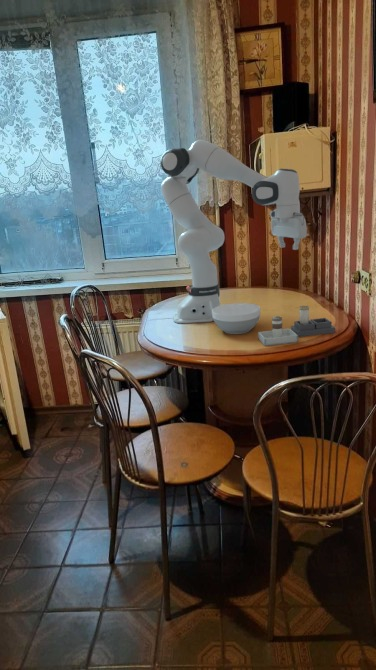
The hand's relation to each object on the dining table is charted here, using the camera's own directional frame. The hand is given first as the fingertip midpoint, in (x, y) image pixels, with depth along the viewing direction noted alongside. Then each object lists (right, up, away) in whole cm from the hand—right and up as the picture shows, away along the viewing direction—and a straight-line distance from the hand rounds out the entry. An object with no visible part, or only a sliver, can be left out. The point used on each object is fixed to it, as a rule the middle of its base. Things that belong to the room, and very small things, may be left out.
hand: (288, 248), depth 185 cm
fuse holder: (+7, -33, -10) cm, 35 cm away
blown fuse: (-8, -36, -16) cm, 40 cm away
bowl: (-20, -33, 0) cm, 38 cm away
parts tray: (-7, -36, -16) cm, 40 cm away
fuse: (+3, -32, -11) cm, 34 cm away
